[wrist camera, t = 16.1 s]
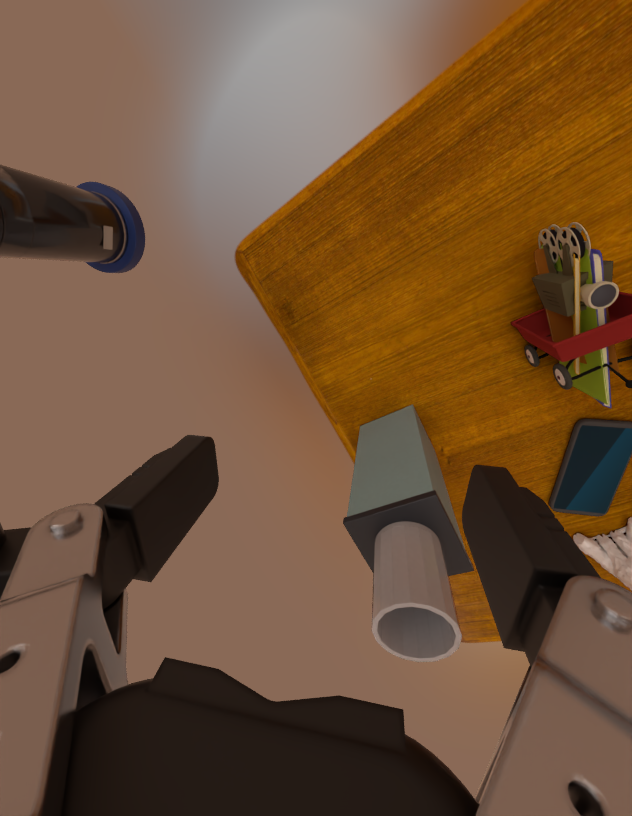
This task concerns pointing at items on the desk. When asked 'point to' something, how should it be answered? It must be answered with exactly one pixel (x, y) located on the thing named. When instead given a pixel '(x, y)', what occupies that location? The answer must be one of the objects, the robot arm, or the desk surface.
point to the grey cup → (413, 594)
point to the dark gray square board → (401, 487)
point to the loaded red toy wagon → (577, 313)
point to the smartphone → (592, 467)
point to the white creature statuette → (611, 551)
